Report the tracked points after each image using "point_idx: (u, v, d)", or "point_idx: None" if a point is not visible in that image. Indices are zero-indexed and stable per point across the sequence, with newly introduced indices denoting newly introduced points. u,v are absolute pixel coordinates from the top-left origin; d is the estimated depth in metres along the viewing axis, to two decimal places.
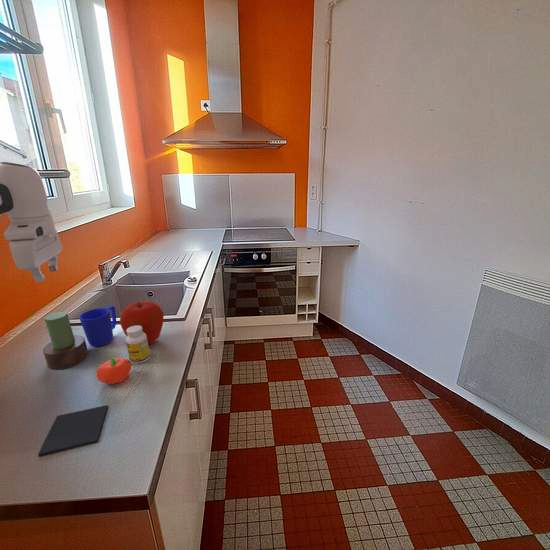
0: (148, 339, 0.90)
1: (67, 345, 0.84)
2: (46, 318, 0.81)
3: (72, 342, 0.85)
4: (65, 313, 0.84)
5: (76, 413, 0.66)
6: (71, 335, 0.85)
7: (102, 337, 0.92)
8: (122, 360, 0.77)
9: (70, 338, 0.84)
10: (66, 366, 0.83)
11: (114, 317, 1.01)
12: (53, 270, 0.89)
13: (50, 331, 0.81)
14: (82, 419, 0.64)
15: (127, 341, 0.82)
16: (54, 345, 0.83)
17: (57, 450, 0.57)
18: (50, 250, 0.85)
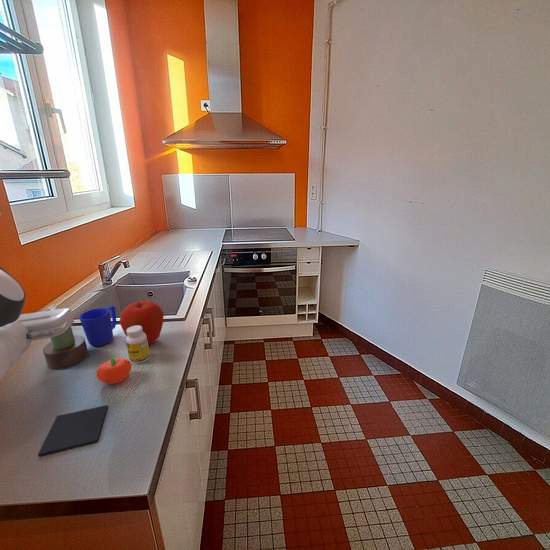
0: (148, 339, 0.90)
1: (67, 345, 0.84)
2: None
3: (72, 342, 0.85)
4: None
5: (76, 413, 0.66)
6: (71, 335, 0.85)
7: (102, 337, 0.92)
8: (122, 360, 0.77)
9: (70, 338, 0.84)
10: (66, 366, 0.83)
11: (114, 317, 1.01)
12: None
13: None
14: (82, 419, 0.64)
15: (127, 341, 0.82)
16: (54, 345, 0.83)
17: (57, 450, 0.57)
18: None
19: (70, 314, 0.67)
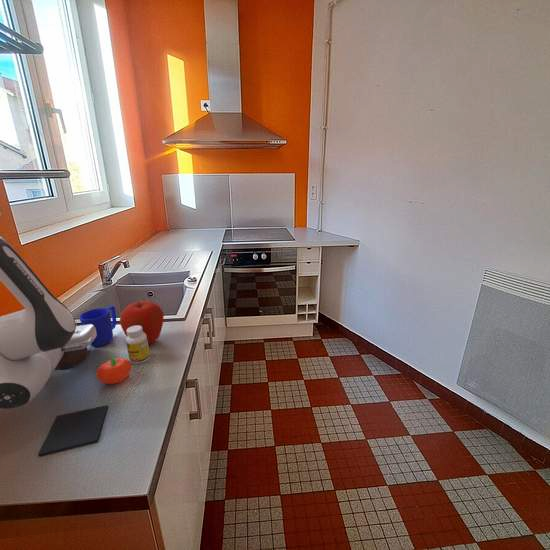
0: (148, 339, 0.90)
1: None
2: None
3: None
4: None
5: (76, 413, 0.66)
6: None
7: (102, 337, 0.92)
8: (122, 360, 0.77)
9: None
10: (66, 366, 0.83)
11: (114, 317, 1.01)
12: None
13: None
14: (82, 419, 0.64)
15: (127, 341, 0.82)
16: None
17: (57, 450, 0.57)
18: None
19: (94, 329, 0.81)
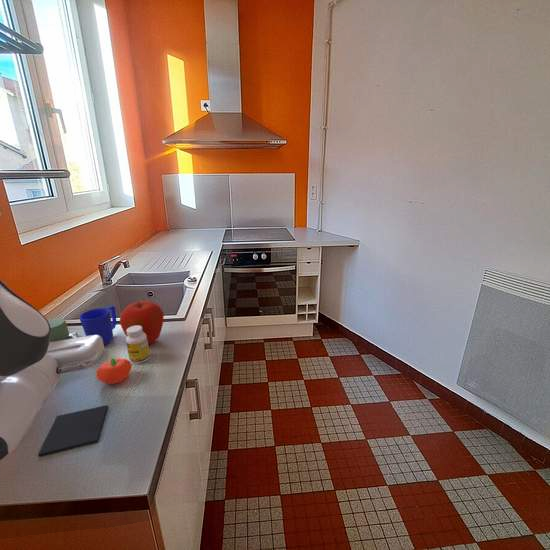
0: (148, 339, 0.90)
1: None
2: None
3: None
4: (62, 320, 0.63)
5: (76, 413, 0.66)
6: None
7: (102, 337, 0.92)
8: (122, 360, 0.77)
9: None
10: None
11: (114, 317, 1.01)
12: None
13: None
14: (82, 419, 0.64)
15: (127, 341, 0.82)
16: None
17: (57, 450, 0.57)
18: None
19: (101, 342, 0.61)
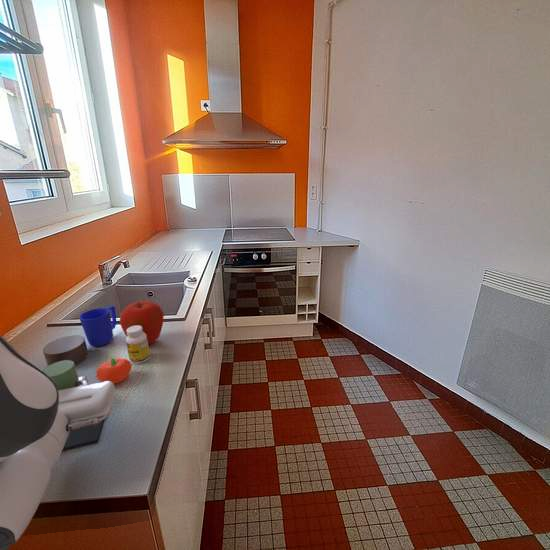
0: (148, 339, 0.90)
1: None
2: None
3: None
4: (71, 364, 0.59)
5: None
6: None
7: (102, 337, 0.92)
8: (122, 360, 0.77)
9: None
10: None
11: (114, 317, 1.01)
12: None
13: None
14: None
15: (127, 341, 0.82)
16: None
17: None
18: None
19: (113, 389, 0.56)
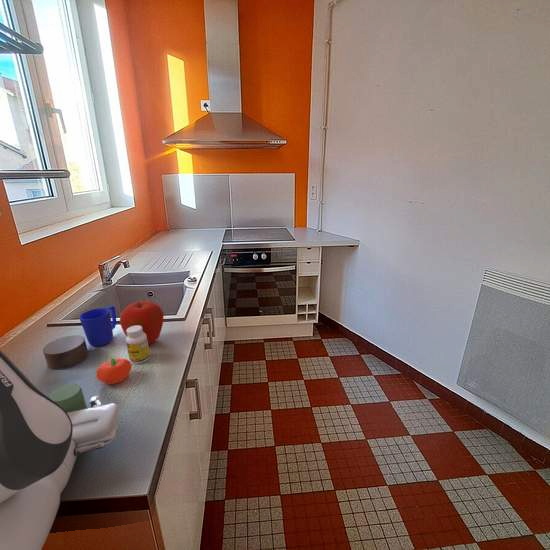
0: (148, 339, 0.90)
1: None
2: (52, 397, 0.58)
3: None
4: (78, 387, 0.61)
5: None
6: None
7: (102, 337, 0.92)
8: (122, 360, 0.77)
9: None
10: (66, 366, 0.83)
11: (114, 317, 1.01)
12: None
13: None
14: None
15: (127, 341, 0.82)
16: None
17: None
18: None
19: (118, 412, 0.58)
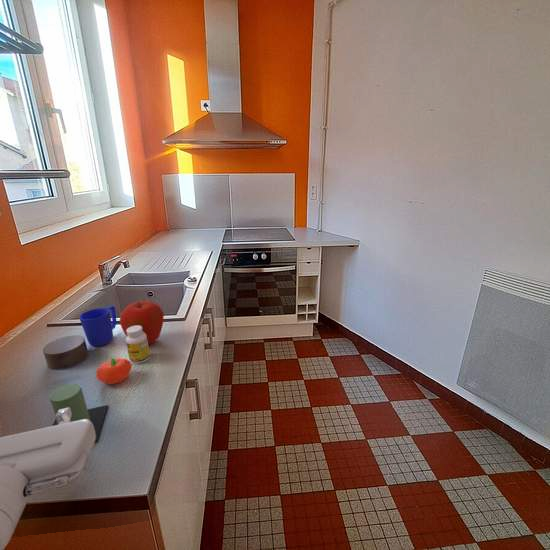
0: (148, 339, 0.90)
1: None
2: (52, 397, 0.58)
3: None
4: (78, 387, 0.61)
5: None
6: (86, 416, 0.62)
7: (102, 337, 0.92)
8: (122, 360, 0.77)
9: None
10: (66, 366, 0.83)
11: (114, 317, 1.01)
12: None
13: None
14: None
15: (127, 341, 0.82)
16: None
17: None
18: None
19: (91, 431, 0.44)
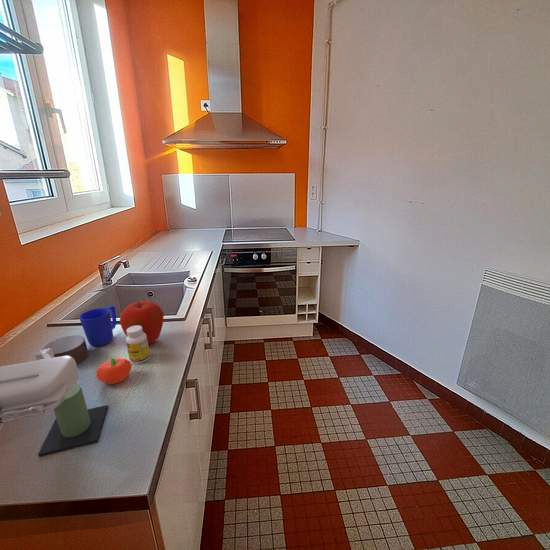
0: (148, 339, 0.90)
1: (81, 431, 0.61)
2: None
3: (87, 425, 0.62)
4: (78, 387, 0.61)
5: None
6: (86, 416, 0.62)
7: (102, 337, 0.92)
8: (122, 360, 0.77)
9: (84, 421, 0.61)
10: None
11: (114, 317, 1.01)
12: None
13: (58, 415, 0.58)
14: None
15: (127, 341, 0.82)
16: (63, 432, 0.60)
17: (57, 450, 0.57)
18: None
19: (73, 367, 0.40)
